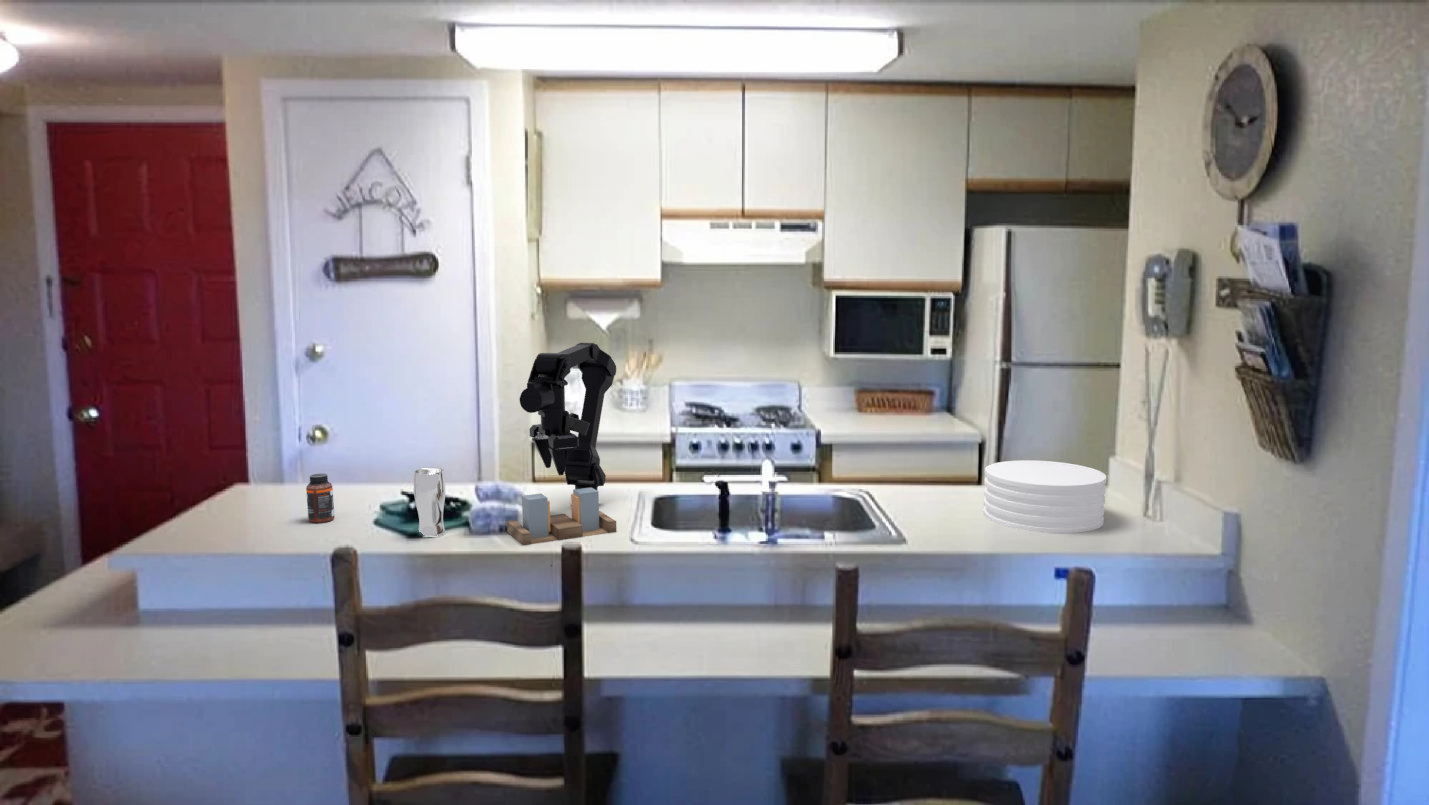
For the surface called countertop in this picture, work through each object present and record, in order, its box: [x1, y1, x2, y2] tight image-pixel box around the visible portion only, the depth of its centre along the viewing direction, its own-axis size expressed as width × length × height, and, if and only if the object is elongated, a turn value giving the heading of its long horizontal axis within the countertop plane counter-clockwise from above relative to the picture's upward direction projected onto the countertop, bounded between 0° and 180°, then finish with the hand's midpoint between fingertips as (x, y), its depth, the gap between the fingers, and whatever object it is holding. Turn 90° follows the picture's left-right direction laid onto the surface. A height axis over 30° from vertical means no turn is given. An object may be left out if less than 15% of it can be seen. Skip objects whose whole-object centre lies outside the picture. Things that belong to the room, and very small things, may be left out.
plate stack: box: [982, 459, 1107, 534], centre depth 239 cm, size 28×28×12 cm
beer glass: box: [413, 467, 446, 537], centre depth 225 cm, size 7×7×15 cm
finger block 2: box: [570, 488, 600, 532], centre depth 226 cm, size 4×5×9 cm
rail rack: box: [506, 510, 617, 546], centre depth 224 cm, size 12×22×4 cm, turn 118°
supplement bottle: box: [305, 473, 335, 524], centre depth 237 cm, size 6×6×11 cm
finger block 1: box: [521, 493, 551, 539], centre depth 220 cm, size 4×5×9 cm
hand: (554, 471), depth 232 cm, fingers open, 9 cm apart
